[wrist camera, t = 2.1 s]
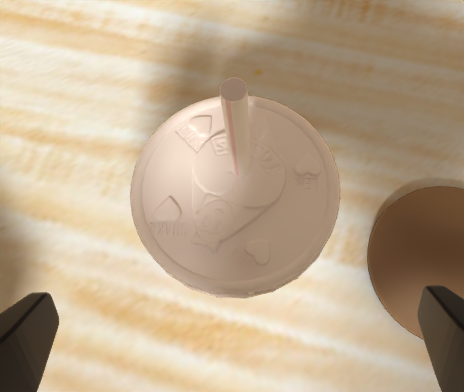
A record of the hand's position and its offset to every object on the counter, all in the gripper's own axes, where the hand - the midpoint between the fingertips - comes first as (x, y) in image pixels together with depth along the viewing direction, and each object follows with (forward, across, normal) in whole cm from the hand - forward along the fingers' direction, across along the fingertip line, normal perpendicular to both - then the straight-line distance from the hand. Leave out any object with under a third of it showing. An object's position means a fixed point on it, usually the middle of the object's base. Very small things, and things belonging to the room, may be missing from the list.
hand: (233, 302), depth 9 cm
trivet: (+9, -10, +6) cm, 15 cm away
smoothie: (+10, 0, +6) cm, 12 cm away
